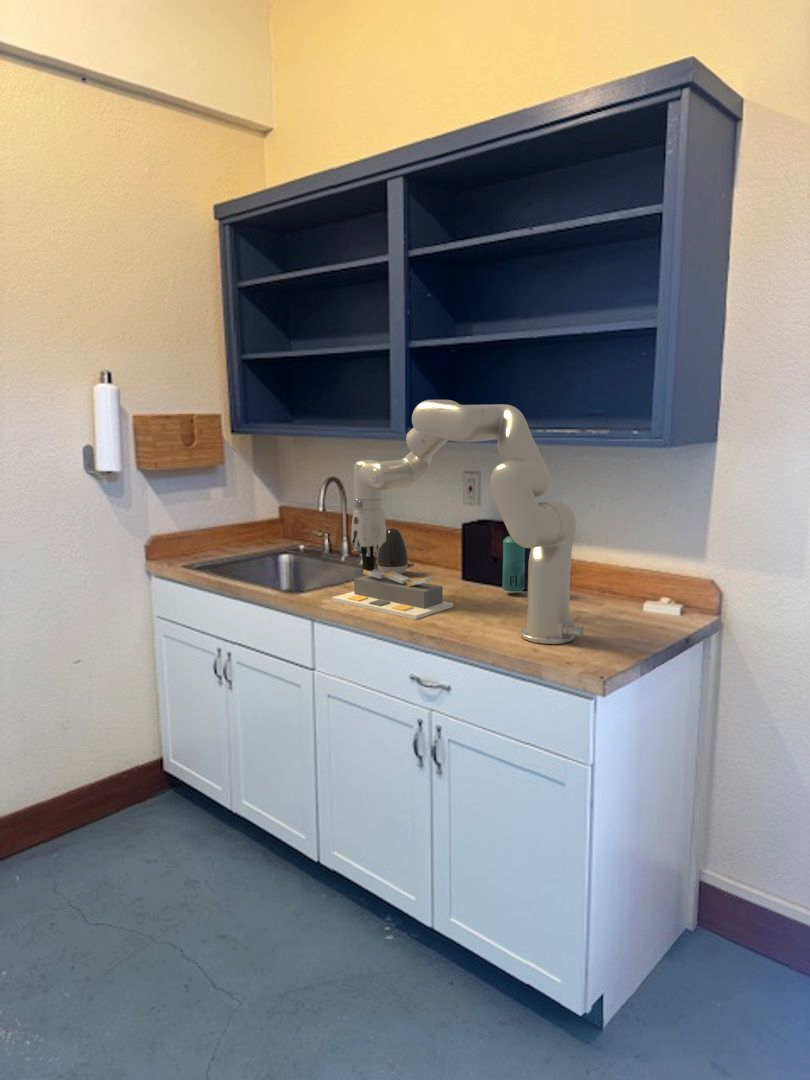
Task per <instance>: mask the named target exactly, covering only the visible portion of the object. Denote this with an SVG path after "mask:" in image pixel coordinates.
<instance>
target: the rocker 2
mask: <svg viewBox="0 0 810 1080" xmlns="http://www.w3.org/2000/svg"><path fill="white" fill-rule="evenodd" d="M411 581H412V582H408V583H407V585H408V586H412V585H417V584H421V583H426V584H427V583H429V582H432V581H434V578H433V576H430V577H425V578H421V579H416V580H411Z"/></svg>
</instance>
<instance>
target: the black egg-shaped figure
mask: <svg viewBox="0 0 810 1080" xmlns="http://www.w3.org/2000/svg"><path fill="white" fill-rule="evenodd" d="M376 565H377V567H378V571H382V572H385V573H388V572H392V571H394V572H396V573H398V574H401V575H403V574H404V573H405V572H406V570H407V568H408V565H409V555H408V547H407V545H406V542H405V538H404V537H403V534H402V533H401V532H400V530H399V529H398V528H395V527H390V528H386V542H385V543H383V544H382V546H381V547H379V548H378V549H377V552H376Z"/></svg>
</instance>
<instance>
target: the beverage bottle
mask: <svg viewBox="0 0 810 1080" xmlns="http://www.w3.org/2000/svg"><path fill="white" fill-rule="evenodd" d="M506 533H507V534H509V532H508V530H507V529H506ZM526 549H527V548H524V547H521V546H520V545H518V544H517V543H516V542H515V541H514V540H513V539H512V537H511V536H510V535H509V536H506V537H505V538H504V539H503V541H502V579H501V580H502V586H501V587H502V590H503V591H505V592H513V593H516V592H517V593H518V592H523V591H524V589H525V584H526V583H525V582H526V581H525V580H526V576H525V572H526V568H525V567H526V566H525V565H526V563H525V562H526Z"/></svg>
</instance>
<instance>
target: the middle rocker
mask: <svg viewBox="0 0 810 1080" xmlns="http://www.w3.org/2000/svg"><path fill="white" fill-rule="evenodd" d="M385 577H386V578H389V579H392V580H394V581H396V582H399V583H401V584H403V583H407V582H410V581H411V578H410V577H408V576H406V575H403V574H398V573H396V572H394V571H392V572H388V573H385Z"/></svg>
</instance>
